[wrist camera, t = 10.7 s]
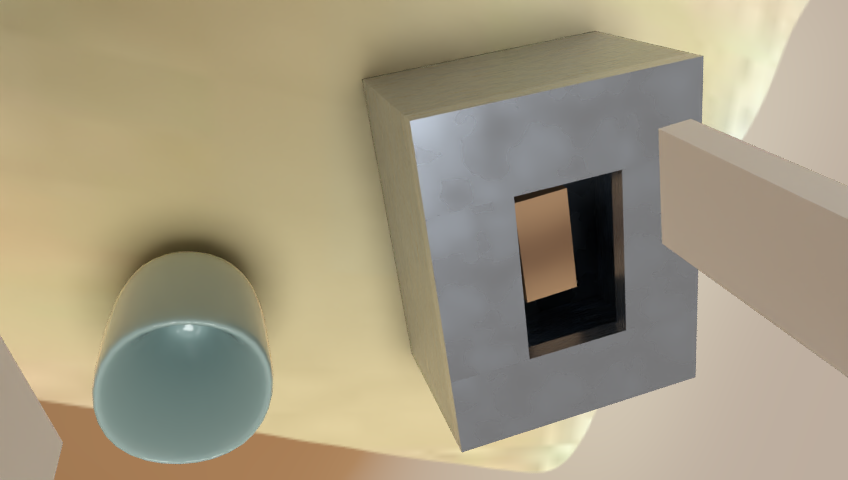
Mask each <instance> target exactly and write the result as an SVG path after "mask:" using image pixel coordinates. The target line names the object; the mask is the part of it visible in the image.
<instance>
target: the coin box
mask: <svg viewBox="0 0 848 480" xmlns="http://www.w3.org/2000/svg"><path fill="white" fill-rule="evenodd" d="M362 82H363V88H364V93H365V98H366V104H367V109H368V115H369V120H370V126H371V131H372V137H373V142H374V148H375V153H376V159H377V164H378V170H379V175H380V181H381V186H382V192H383V197H384V203H385V208H386V214H387V219H388V225H389V230H390V236H391V241H392V247H393V252H394V258H395V263H396V269H397V274H398V280H399V285H400V291H401V296H402V302H403V307H404V313H405V318H406V324H407V329H408V335H409V340H410V346H411V351H412V355H413V357H414V359H415V361H416V363H417V365H418V367H419V369H420V370H421V372H422V374H423V376H424V378H425V380H426V382H427V384H428V386H429V388H430V390H431V392H432V394H433V396H434V398H435V400H436V402H437V404H438V406H439V408H440V410H441V412H442V414H443V416H444V418H445V420H446V422H447V424H448V426H449V428H450V430H451V432H452V434H453V436H454V438H455V440H456V442H457V444H458V446H459V448H460V450H461V452H464V451H467V450H470V449H474V448H477V447H480V446H483V445H486V444H489V443H492V442H495V441H498V440H502V439H505V438H508V437H511V436H514V435H517V434H520V433H523V432H526V431H530V430H533V429H536V428H539V427H542V426H545V425H548V424H551V423H554V422H557V421H561V420H564V419H567V418H570V417H573V416H576V415H579V414H582V413H585V412H589V411H592V410H595V409H598V408H601V407H604V406H607V405H610V404H613V403H617V402H619V401H623V400H626V399H629V398H632V397H635V396H638V395H641V394H644V393H648V392H650V391H654V390H656V389H660V388H663V387H666V386H669V385H672V384H676V383H678V382H682V381H685V380H688V379H691V378H694V377H695V372H696V331H697V293H698V292H697V291H698V269H697V268H695V267H694V266H693V265H691V264H690V263H688V262H687V261H686V260H684V259H683V258H681V257H680V256H679V255H677V254H676V253H675V252H673V251H672V250H670V249H669V248H668V247H666V246H665V245H663V244H662V228H661V195H660V163H659V131H658V129H659V128H662V127H665V126H669V125H672V124H675V123H679V122H682V121H685V120H689V119H693V120H695V121H697V122H700V123H702V93H703V56H701V55H697V54H693V53H688V52H684V51H680V50H675V49H671V48H667V47H662V46H658V45H653V44H649V43H645V42H640V41H636V40H632V39H627V38H623V37H619V36H614V35H610V34H606V33H601V32H597V31H594V32H589V33H584V34H579V35H574V36H569V37H565V38H560V39H555V40H550V41H545V42H540V43H535V44H531V45H526V46H521V47H516V48H511V49H506V50H502V51H497V52H492V53H487V54H482V55H477V56H473V57H468V58H463V59H458V60H453V61H448V62H444V63H439V64H434V65H429V66H424V67H419V68H414V69H410V70H405V71H400V72H395V73H390V74H385V75H381V76H376V77H371V78H366V79H362ZM559 185H563V186H565V187H566V188H567V195H568V204H569V214H570V224H571V233H572V243H573V253H574V262H575V272H576V282H577V287H574V288H571V289H568V290H565V291H562V292H559V293H556V294H553V295H550V296H547V297H543V298H540V299H537V300H534V301H531V302H528V303H527V301H526V300H525V299H524V296H523V286H522V275H521V265H520V255H519V244H518V234H517V224H516V213H515V203H514V197H515V196H519V195H523V194H527V193H531V192H535V191H539V190H543V189H547V188H551V187H555V186H559Z"/></svg>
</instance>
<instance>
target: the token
mask: <svg viewBox="0 0 848 480" xmlns="http://www.w3.org/2000/svg"><path fill="white" fill-rule="evenodd" d="M514 203H515V213H516V224H517V234H518V244H519V255H520V265H521V275H522V286H523V296H524V299H525V300H526V301H527V303H528V302H531V301H534V300H537V299H540V298H543V297H547V296H550V295H553V294H556V293H559V292H562V291H565V290H568V289H571V288H574V287H577V282H576V272H575V262H574V253H573V243H572V233H571V224H570V214H569V204H568V195H567V188H566V187H565V186H563V185H559V186H555V187H551V188H547V189H543V190H539V191H535V192H531V193H527V194H523V195H519V196H515V197H514Z"/></svg>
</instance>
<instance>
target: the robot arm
mask: <svg viewBox="0 0 848 480" xmlns="http://www.w3.org/2000/svg"><path fill="white" fill-rule="evenodd" d="M658 131H659V163H660V195H661V228H662V244H663V245H665V246H666V247H668V248H669V249H670V250H672V251H673V252H675V253H676V254H677V255H679V256H680V257H681V258H683V259H684V260H686V261H687V262H688V263H690V264H691V265H693V266H694V267H695V268H697V269H698V270H699V271H701V272H702V273H704V274H705V275H706V276H708V277H709V278H711V279H712V280H714V281H715V282H716V283H718V284H719V285H720V286H722V287H723V288H725V289H726V290H727V291H729V292H730V293H731V294H733V295H734V296H736V297H737V298H738V299H740V300H741V301H743V302H744V303H745V304H747V305H748V306H750V307H751V308H752V309H754V310H755V311H756V312H758V313H759V314H761V315H762V316H764V317H765V318H766V319H767V320H769V321H770V322H772V323H773V324H774V325H776V326H777V327H779V328H780V329H781V330H783V331H784V332H785V333H787V334H788V335H790V336H791V337H793V338H794V339H795V340H797V341H798V342H799V343H801V344H802V345H804V346H805V347H806V348H808V349H809V350H811V351H812V352H813V353H815V354H816V355H817V356H819V357H820V358H822V359H823V360H824V361H826V362H827V363H829V364H830V365H831V366H833V367H834V368H835V369H837V370H838V371H840V372H841V373H842V374H844V375H845V376H846V377H848V186H847V185H845V184H842V183H840V182H837V181H835V180H833V179H830V178H828V177H826V176H823V175H821V174H819V173H816V172H814V171H812V170H809V169H807V168H805V167H802V166H800V165H798V164H795V163H793V162H791V161H788V160H786V159H784V158H781V157H779V156H777V155H774V154H772V153H769V152H767V151H765V150H763V149H760V148H758V147H756V146H753V145H751V144H749V143H746V142H744V141H742V140H739V139H737V138H735V137H732V136H730V135H728V134H725V133H723V132H721V131H718V130H716V129H714V128H711V127H709V126H707V125H704V124H702V123H700V122H697V121H695V120H693V119H689V120H685V121H682V122H679V123H675V124H672V125H669V126H665V127H662V128H659V129H658ZM62 444H63V442H62V440H61V438H60V437H59V435H58V433H57V431H56V430H55V428H54V426H53V425H52V423H51V421H50V420H49V418H48V416H47V414H46V413H45V411H44V409H43V408H42V406H41V404H40V402H39V401H38V399H37V397H36V396H35V394H34V392H33V390H32V389H31V387H30V385H29V384H28V382H27V380H26V378H25V377H24V375H23V373H22V372H21V370H20V368H19V366H18V365H17V363H16V361H15V360H14V358H13V356H12V354H11V353H10V351H9V349H8V348H7V346H6V344H5V343H4V341H3V339H2V337H1V336H0V480H54V476H55V473H56V469H57V464H58V460H59V456H60V452H61V448H62Z"/></svg>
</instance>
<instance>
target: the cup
mask: <svg viewBox="0 0 848 480" xmlns="http://www.w3.org/2000/svg"><path fill="white" fill-rule="evenodd" d="M272 392H273V366H272V359H271V353H270V347H269V341H268V335H267V329H266V324H265V319H264V315H263V311H262V308H261V305H260V302H259V300H258V297H257V295H256V293H255V290H254V288H253V286H252V284H251V283H250V282H249V280H248V279H247V278H246V276H245V275H244V274H243V272H242V271H241V270H239V269H238V268H237V267H236V266H234V265H233V264H232V263H230V262H228V261H226V260H224V259H223V258H221V257H218V256H215V255H212V254H208V253H203V252H196V251H180V252H174V253H168V254H165V255H162V256H159V257H156V258H154V259H152V260H151V261H149V262H147V263H145V264H144V265H142V266H141V267H140V268H139V269H138V270H137V271H136V272H135V273H134V274H132V276H131V277H130V278H129V279H128V281H127V282H126V284H125V285H124V287H123V288H122V290H121V291H120V293H119V295H118V297H117V299H116V301H115V303H114V306H113V308H112V311H111V314H110V317H109V319H108V322H107V325H106V328H105V331H104V335H103V338H102V342H101V346H100V350H99V354H98V358H97V362H96V367H95V373H94V379H93V387H92V395H93V407H94V411H95V415H96V418H97V421H98V424H99V425H100V427H101V429H102V431H103V432H104V434H105V436H106V437H107V438H108V439H109V440H110V441H111V442H112V443H113V444H114V445H115V446H117V447H118V448H120V449H121V450H123V451H125V452H126V453H128V454H130V455H132V456H135V457H138V458H141V459H143V460H147V461H153V462H158V463H168V464H169V463H170V464H184V463H194V462H200V461H205V460H209V459H214V458H216V457H219V456H221V455H224V454H226V453H229V452H231V451H232V450H234V449H235V448H237V447H239V446H240V445H242V444H243V443H244V442H246V440H248V439H249V438H250V437H251V436H252V435H253V434H254V433H255V432H256V430H257V429H258V427H259V426H260V425H261V423H262V422H263V420H264V417H265V415H266V413H267V411H268V409H269V405H270V400H271V396H272Z"/></svg>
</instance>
